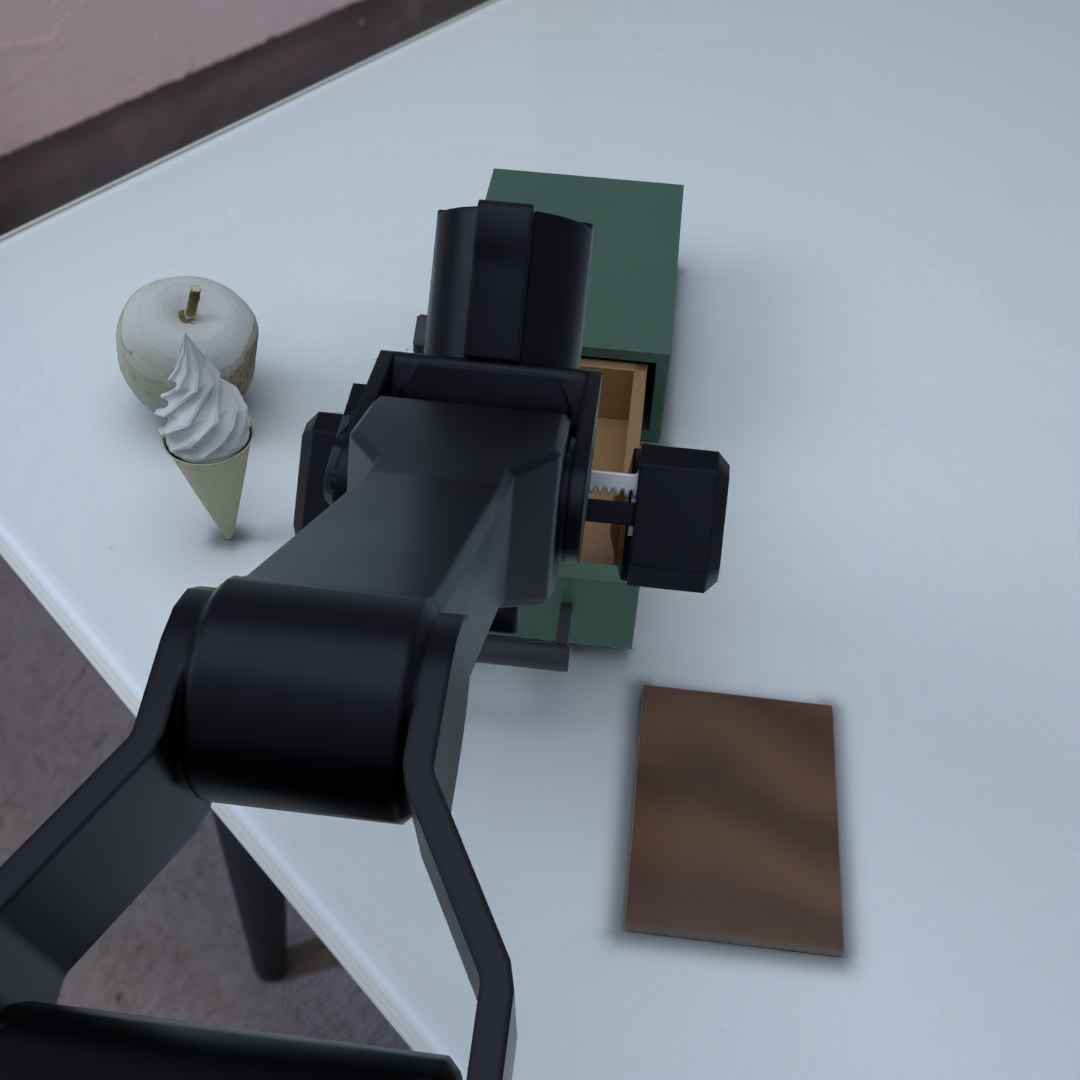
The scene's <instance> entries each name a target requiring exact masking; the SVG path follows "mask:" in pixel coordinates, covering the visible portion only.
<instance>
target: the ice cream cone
mask: <svg viewBox="0 0 1080 1080" xmlns="http://www.w3.org/2000/svg"><path fill="white" fill-rule="evenodd" d="M174 369H175V370H174V371H173V373H172V374H171V375H170V376H169V378H168V380H169V381H174V382H176V383H177V385H176V387H175V388H174V389H172V390H170V391H168V392H166V393H163V394H161V397H160V398H163V399H166V400H167V401H168V406H167V407H165V408H161V409H156V411H155V412H154V415H155V416H156V417H161V418H165V417H166V418H165V419H167V422H166V424H165V426H162V427H158V431H157V433H158V434H159V435H160V443H161V444H160V445H161V446H162V449H163V450H164V452H165V453H166V454H167V455H168V456H169V457H170V458H171V459H172V460H173V461H174V463H175V465H176V466H177V467H178V469H179V471H180V472H181V473H182V475H183V476H184V478H185V479H186V481H187V483H188V484H189V486H190V488H191V489H192V491H193V492H194V493H195V495H196V496H197V498H198V500H199V501H200V503H201V504H202V505H203V508H204V509H205V510H206V511H207V513H208V514H209V516H210V517H211V519H212V520H213V522H214V523H215V525H216V527H217V528H218V529H219V531H220V532H221V534H222V535H223V537H224V538H225V539H226V540H232V539H233V538H234V536H235V530H236V525H237V521H238V515H239V509H240V503H241V497H242V493H243V487H244V482H245V477H246V471H247V468H248V467H247V466H248V459H249V454H250V449H251V444H252V442H253V440H254V438H255V434H256V433H255V432H256V427H255V424H254V421H253V419H252V418H251V417H250V415H249V412H248V411H249V410H248V409H249V407H248V405H247V403H246V401H245V400H244V397H242V396H241V394H240V392H239V390H238V388H237V387H236V386H235V385H233V384H231V383H229V382H227V381H225V380H223V379H221V378H220V374H221V373H220V372H219V371H218V370H217V369H216V368H215V367H214V365H213V363H212V362H210V361H209V360H207V359H206V357H205V356H204V355H203V354H202V353H201V351H200V350H199V349H198V348H197V346H196V345H195V344H194V343H193V342H192V340H191V339H190V338H189V337H188V335H187V334H186V333H185V334H184V338H183V342H182V346H181V349H180V352H179V355H178V359H177V362H176V364H175V367H174Z"/></svg>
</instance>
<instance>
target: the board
mask: <svg viewBox="0 0 1080 1080" xmlns="http://www.w3.org/2000/svg"><path fill="white" fill-rule="evenodd" d="M642 689H643V690H642V697H641V699H642V700H641V711H640V721H639V723H640V724H639V737H638V749H637V761H636V775H635V785H634V798H633V799H634V800H633V811H632V824H631V837H630V849H629V861H628V875H627V887H626V899H625V911H624V924H623V929H624V931H627V932H635V933H636V932H637V933H644V934H651V935H652V934H653V935H659V936H667V937H675V938H683V939H693V940H700V941H709V942H717V943H725V944H733V945H741V946H749V947H758V948H766V949H772V950H773V949H774V950H781V951H788V952H789V951H790V952H798V953H805V954H806V953H808V954H814V955H823V956H829V957H839V958H840V957H842V956H843V954H844V951H845V946H844V926H843V924H844V923H843V905H842V885H841V884H842V881H841V862H840V861H841V860H840V841H839V840H840V839H839V838H840V837H839V817H838V797H837V776H836V775H837V774H836V756H835V732H834V713H833V712H834V709H833V705H831V704H830V705H829V704H821V703H812V702H803V701H802V702H801V701H795V700H784V699H776V698H768V697H757V696H750V695H749V696H748V695H741V694H740V695H739V694H731V693H721V692H712V691H704V690H694V689H685V688H676V687H669V686H668V687H667V686H660V685H659V686H658V685H650V684H644V685H643V688H642Z"/></svg>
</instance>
